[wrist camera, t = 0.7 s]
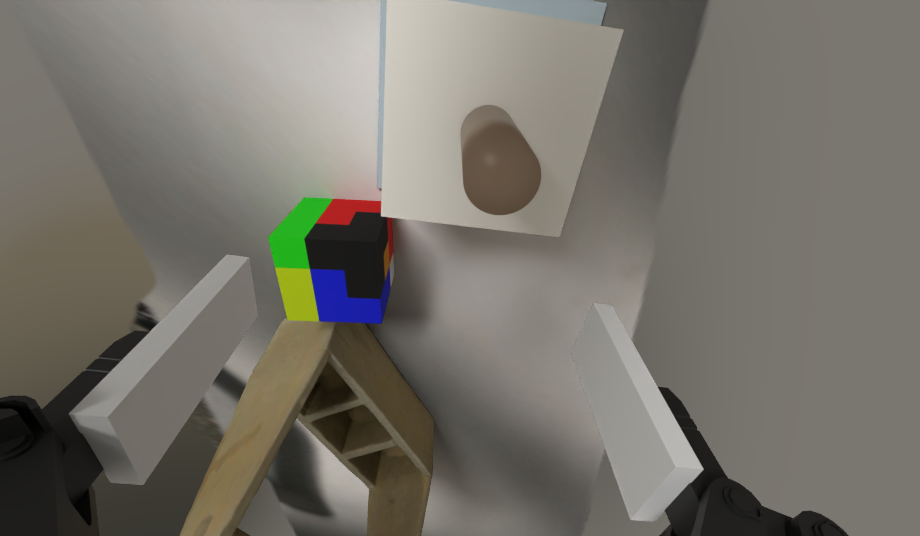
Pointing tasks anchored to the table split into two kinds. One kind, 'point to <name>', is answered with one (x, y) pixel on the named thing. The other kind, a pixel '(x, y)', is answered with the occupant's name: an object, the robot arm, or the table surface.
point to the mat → (558, 3)
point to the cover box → (488, 113)
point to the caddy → (324, 428)
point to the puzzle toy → (334, 261)
